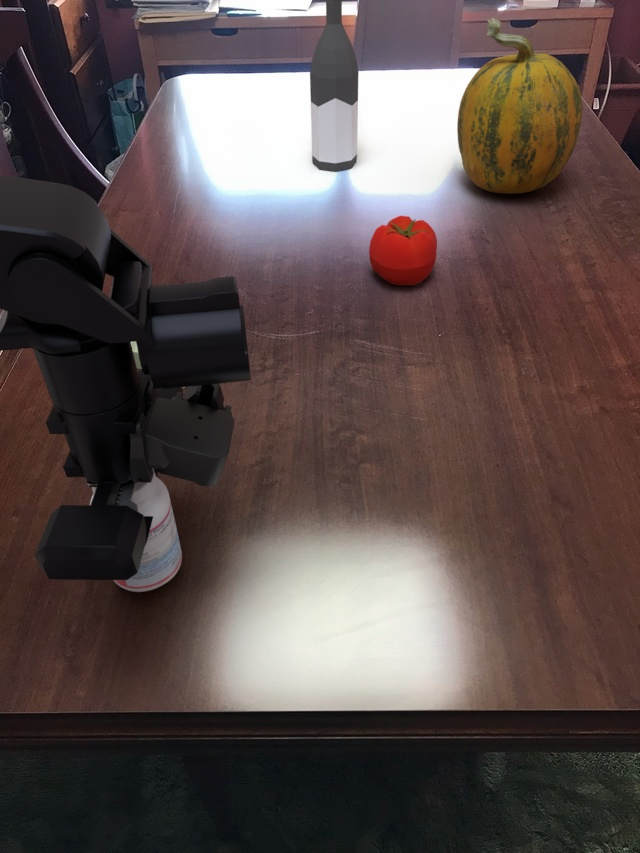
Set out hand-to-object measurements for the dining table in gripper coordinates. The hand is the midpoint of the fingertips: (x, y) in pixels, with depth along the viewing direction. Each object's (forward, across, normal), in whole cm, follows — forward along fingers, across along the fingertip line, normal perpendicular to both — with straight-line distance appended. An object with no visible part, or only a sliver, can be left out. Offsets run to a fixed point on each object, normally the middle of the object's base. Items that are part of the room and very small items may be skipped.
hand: (141, 535), depth 56 cm
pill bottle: (+4, 0, 0) cm, 4 cm away
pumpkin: (+5, +79, -44) cm, 91 cm away
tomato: (+6, +50, -25) cm, 56 cm away
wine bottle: (+6, +89, -15) cm, 91 cm away
